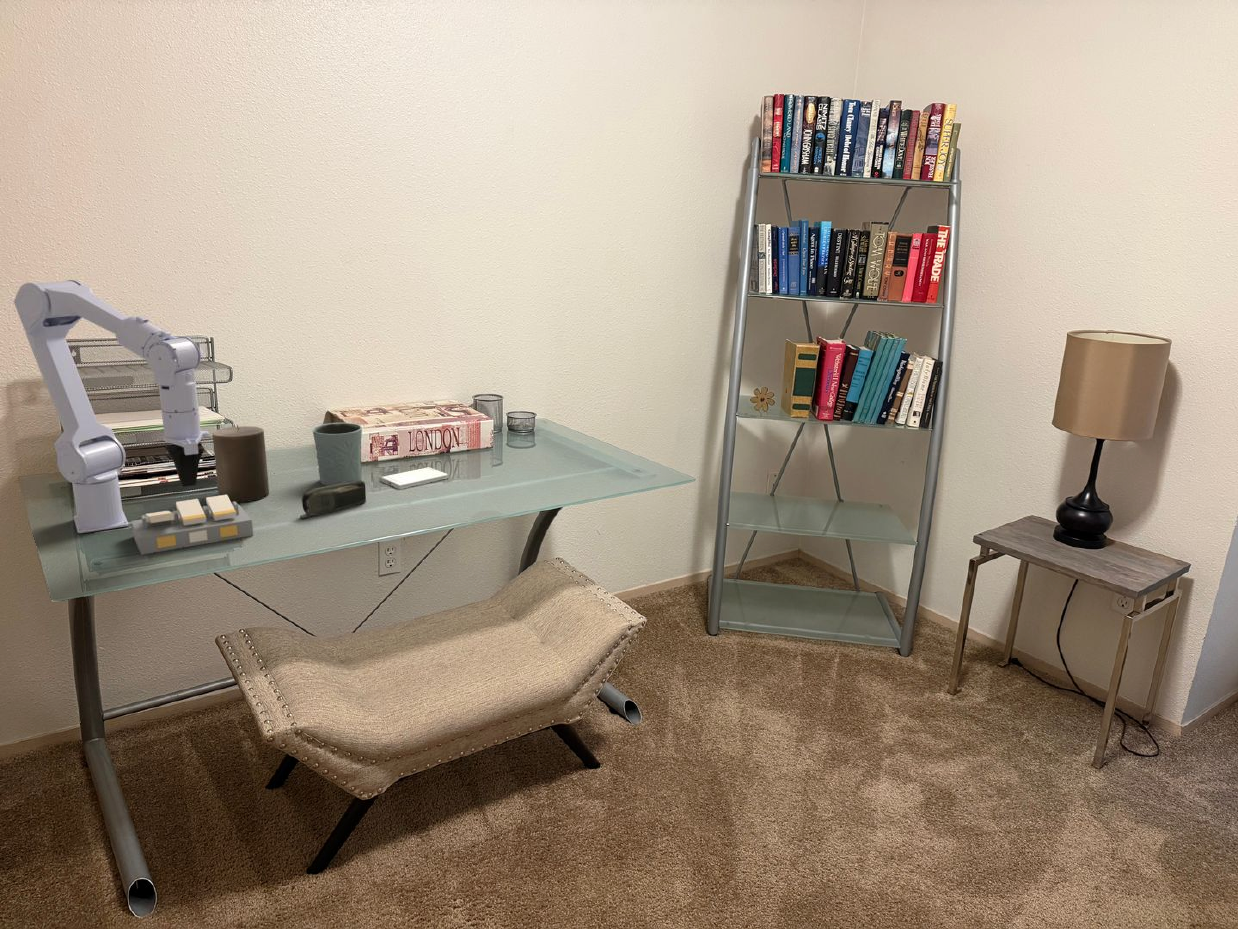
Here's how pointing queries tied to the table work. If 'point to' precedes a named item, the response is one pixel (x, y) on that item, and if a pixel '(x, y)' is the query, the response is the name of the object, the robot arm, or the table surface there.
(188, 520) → the rocker
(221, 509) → the rocker
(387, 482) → the hard drive
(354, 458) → the grey green cup
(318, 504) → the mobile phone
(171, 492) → the table surface
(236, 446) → the pillar candle
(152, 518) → the block
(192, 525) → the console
